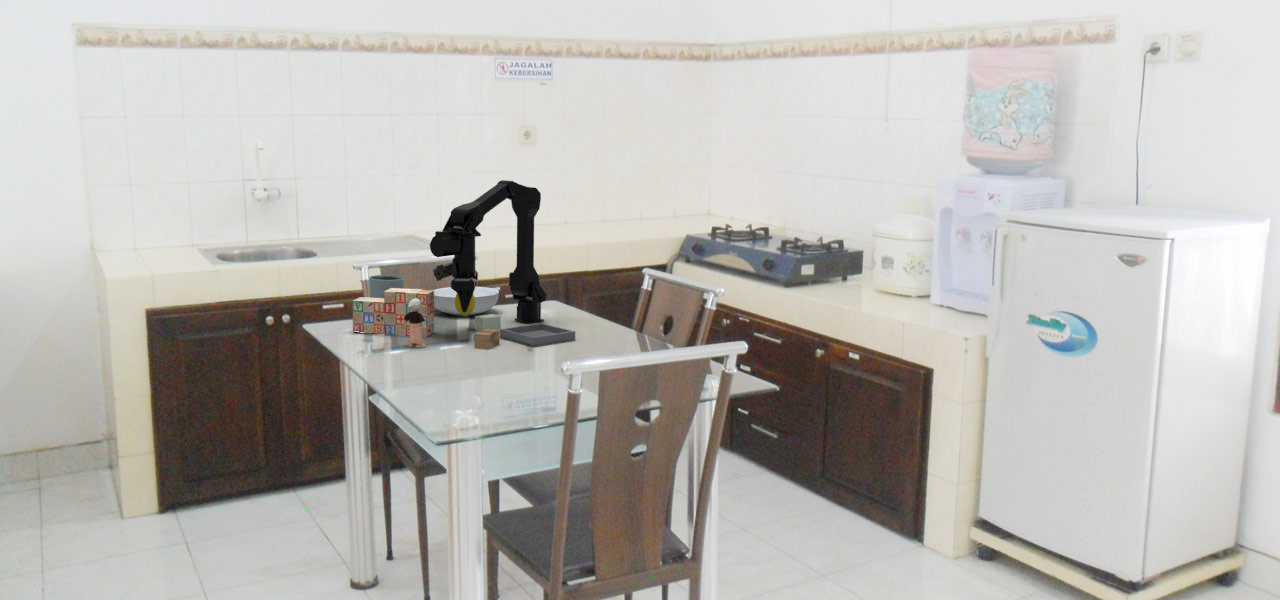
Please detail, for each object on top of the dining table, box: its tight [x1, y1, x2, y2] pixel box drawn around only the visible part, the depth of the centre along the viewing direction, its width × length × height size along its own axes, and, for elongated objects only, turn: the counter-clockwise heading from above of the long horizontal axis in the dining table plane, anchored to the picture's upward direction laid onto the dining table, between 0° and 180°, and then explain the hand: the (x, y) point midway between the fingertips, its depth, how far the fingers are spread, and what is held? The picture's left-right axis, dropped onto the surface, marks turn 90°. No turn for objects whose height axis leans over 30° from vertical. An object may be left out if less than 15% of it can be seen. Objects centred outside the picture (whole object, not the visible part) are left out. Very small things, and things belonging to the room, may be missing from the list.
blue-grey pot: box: [368, 274, 405, 298], centre depth 320 cm, size 10×10×12 cm
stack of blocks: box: [351, 288, 435, 338], centre depth 297 cm, size 21×6×12 cm, turn 83°
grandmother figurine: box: [403, 298, 426, 349], centre depth 281 cm, size 8×4×13 cm, turn 71°
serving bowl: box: [433, 286, 500, 317], centre depth 330 cm, size 21×21×7 cm
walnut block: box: [474, 329, 501, 350], centre depth 285 cm, size 7×4×4 cm, turn 163°
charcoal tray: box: [500, 322, 576, 348], centre depth 295 cm, size 15×15×2 cm
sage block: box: [474, 313, 502, 332], centre depth 306 cm, size 6×4×4 cm, turn 132°
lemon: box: [455, 293, 475, 317], centre depth 297 cm, size 6×6×8 cm
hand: (465, 309), depth 298 cm, fingers closed on lemon, 5 cm apart
